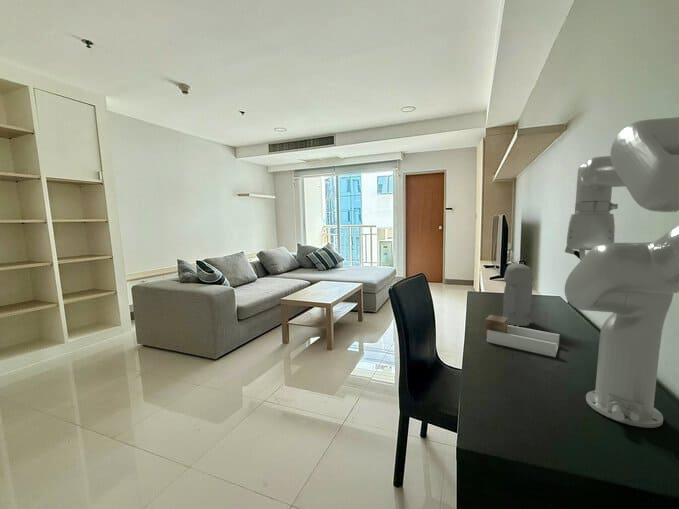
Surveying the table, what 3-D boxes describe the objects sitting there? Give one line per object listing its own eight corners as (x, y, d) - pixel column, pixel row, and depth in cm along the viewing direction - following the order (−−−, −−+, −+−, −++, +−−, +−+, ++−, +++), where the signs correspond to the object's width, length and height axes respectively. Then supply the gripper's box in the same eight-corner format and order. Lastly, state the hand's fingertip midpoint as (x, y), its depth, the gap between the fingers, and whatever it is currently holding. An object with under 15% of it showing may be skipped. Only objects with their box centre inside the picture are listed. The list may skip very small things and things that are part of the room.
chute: (558, 345, 105) (559, 334, 105) (555, 357, 96) (556, 344, 96) (494, 332, 118) (495, 322, 117) (486, 341, 109) (487, 330, 108)
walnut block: (507, 333, 113) (508, 317, 112) (502, 339, 107) (503, 322, 107) (489, 330, 117) (490, 314, 116) (484, 335, 111) (485, 319, 111)
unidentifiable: (527, 329, 121) (531, 266, 119) (498, 324, 127) (501, 264, 125) (533, 320, 132) (536, 262, 130) (506, 316, 139) (509, 261, 136)
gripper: (628, 208, 83) (621, 276, 85) (559, 210, 92) (555, 270, 94) (630, 207, 77) (624, 279, 79) (557, 209, 86) (553, 273, 88)
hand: (586, 274), depth 86 cm, fingers closed
